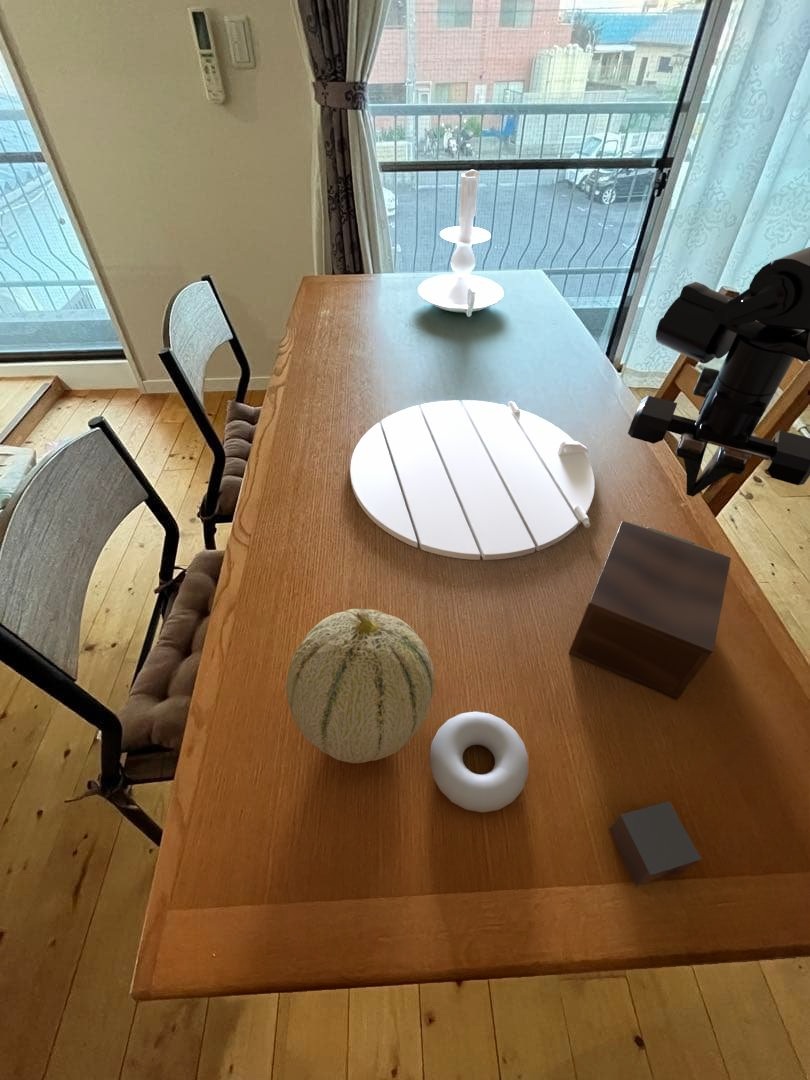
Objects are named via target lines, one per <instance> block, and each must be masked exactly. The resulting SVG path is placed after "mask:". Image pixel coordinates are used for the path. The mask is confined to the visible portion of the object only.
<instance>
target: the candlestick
mask: <svg viewBox="0 0 810 1080" xmlns="http://www.w3.org/2000/svg"><path fill="white" fill-rule="evenodd" d="M479 181H480V171H478V170H475V169H470V170H468V171H465V172H464V173H463V172H462V173H461V176H460V189H459V201H458V202H459V203H458V207H459V213H458V221H457V222H458V224H459V225H457V226H451V227H447V228H444V229H442V230H441V231H440V232H439V236H440V237H441V238H442V239H443V240H445V241H448V242H451V243H455V244H456V248H455V251H454V252H453V254H452V256H451V259H450V267H451V269H452V272H453V273H454V274H453V273H452V274H442V275H437V276H434V277H431V278H428V279H426V280H424V281H423V282H421V284H419V285H418V288H417V293H418V295H419V297H420V298H421V299H422V300H424V301H425V302H427V303H429V304H431V305H433V306H435V307H437V308H439V309H440V310H441V309H442V310H444V311H449V312H453V313H454V312H455V313H465V315H466V316H467V317H472V313H473V312H477V311H480V310H484V309H487V308H490V307H491V306H495V305H496V304H498V303H499V302H501V301H502V300H503V298H504V295H505V293H504V289H503V288H502V286H501V285H499V284H498V283H497V282H495V281H493V280H491V279H488V278H486V277H481V276H477V275H472V274H471V273H473V270H474V269H475V267H476V256H475V253H474V252H473V245H474V244H480V243H484V242H486V241H488V240H490V239H491V237H492V235H491V233H490V232H489V231H488V230H486V229H484V228H480V227H477V226H476V227H475V226H474V218H475V217H476V216H477V203H478V192H479V183H480V182H479Z"/></svg>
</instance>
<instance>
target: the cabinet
mask: <svg viewBox="0 0 810 1080" xmlns="http://www.w3.org/2000/svg"><path fill="white" fill-rule="evenodd" d="M628 522H629V521H625V520H621V521H620V524H619V527H618V529H617V532H616V534H615V537H614V539H613V541H612V544H611V547H610V548H609V551H608V554H607V557H606V559H605V561H604V564H603V566H602V569H601V571H600V573H599V576H598V579H597V581H596V584H595V586H594V588H593V590H592V591H593V592H592V594H591V596H590V598H589V601H588V604H587V606H586V608H585V612H584V613H583V616H582V619H581V621H580V623H579V626H578V629H577V630H576V633H575V636H574V638H573V641H572V643H571V646H570V649H569V651H568V655H570V656H572V657H575V658H577V659H579V660H582V661H584V662H586V663H589V664H591V665H593V666H595V667H598V668H599V669H603V670H605V671H607V672H609V673H612V674H614V675H617V676H619V677H621V678H624V679H626V680H628V681H630V682H633V683H636V684H637V685H640V686H642V687H644V688H646V689H649V690H651V691H654V692H656V693H658V694H660V695H663V696H665V697H667V698H670V699H672V700H674V701H678V699H679V698H680V697H681V696H682V695H683V693H684V692H685V691H686V689H687V688H688V686H690V684H691V682H692V681H693V680H694V679H695V677H696V676H697V674H698V673H699V672H700V670H701V669H702V668H703V666H704V665H705V663H706V662H707V661H708V660H709V658H710V657H711V655H712V654H713V653H714V649H715V645H716V639H717V634H718V629H719V624H720V618H721V614H722V608H723V603H724V597H725V592H726V586H727V581H728V575H729V570H730V565H731V559H732V557H731V556H728V555H725V554H724V555H722V554H723V553H722V554H719V553H720V552H719V553H716V552H717V551H716V552H713V551H714V550H713V551H710V550H711V549H710V550H707V549H708V548H707V549H704V548H705V547H704V548H701V547H702V546H701V547H699V546H700V545H698V546H696V545H697V544H695V545H693V544H690V543H687V542H684V541H681V540H678V539H675V538H672V537H669V536H666V535H663V534H660V533H657V532H654V531H651V530H648V529H646V528H647V527H645V528H643V527H644V526H642V527H640V526H641V525H639V526H637V525H638V524H636V525H634V524H635V523H633V524H631V523H632V522H630V523H628Z"/></svg>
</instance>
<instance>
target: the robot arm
mask: <svg viewBox="0 0 810 1080" xmlns="http://www.w3.org/2000/svg"><path fill="white" fill-rule="evenodd" d="M655 341H656V342H657V343H658V344H659V345H662V346H664V347H666V348H668V349H671V350H673V351H675V352H677V353H680V354H681V355H683V356H685V357H687V358H689V359H692V360H694V361H696V362H699V363H701V364H702V365H703V364H708V363H710V362H711V361H712V360H714V359H717V360H719V359H722V358H723V357H725V358H724V360H723V363H722V365H721V367H720V369H719V370H718V369H715V368H710V367H707V366H703V367H702V369H701V372H700V374H699V377H698V378H697V380H696V383H695V386H694V388H693V390H692V395H693V396H696V397H701V398H704V399H703V401H702V403H701V406H700V408H699V411H698V416H697V419H692V418H689V417H685V416H681V415H677V414H674V413H675V411H676V409H677V406H678V402H675V401H671V400H667V399H663V398H660V397H655V396H652V395H647V396H645V397H643V398H642V399H641V400H640V403H639V405H638V407H637V408H636V410H635V413H634V415H633V418H632V421H631V422H630V426H629V428H628V431H627V434H628V435H629V437H631V438H632V439H636V440H640V441H642V442H647V443H650V444H657V443H659V442H662V441H664V439H665V436H666V434H667V432H669V433H672V434H676V435H680V438H679V442H678V444H677V448H676V450H675V456H677V457H678V458H680V459H683V462H684V463H683V465H684V469H685V474H686V492H685V493H686V496H690V497H692V498H693V497H696V496H697V495H699V493H701V492H703V491H704V490H705V489H707V488H708V487H710V486H711V485H713V484H714V483H717V482H718V481H720V480H722V479H724V478H725V477H727V476H730V475H731V474H736V475H743V473H744V472H745V470H746V467H747V461H748V459H749V460H750V459H751V457H756V458H760V459H763V460H767V461H770V463H769V464H768V466H767V472H768V474H769V476H770V478H771V479H775V480H777V481H780V482H785V483H788V484H792V485H795V486H801V485H805V484H806V482H807V481H808V479H809V478H810V437H808V436H805V435H801V434H798V433H793V432H789V431H785V430H781V429H778V431H776V432H775V434H774V435H773V438H772V439H771V440H769V439H767V438H763V437H758V436H757V433H755V430H756V428H757V427H758V425H759V424H760V421H761V420H762V418H763V415H764V414H765V412H766V410H767V408H768V407H769V405H770V403H771V402H772V400H773V398H774V396H775V394H776V392H777V390H778V388H779V386H780V385H781V383H782V381H783V380H784V378H785V376H786V374H787V372H788V371H789V369H790V367H791V365H792V363H793V361H794V360H795V359H796V360H799V361H801V362H803V363H806V362H809V361H810V246H807V247H805V248H802V249H800V250H797V251H795V252H791V253H789V254H787V255H784V256H782V257H779V258H776V259H774V260H772V261H770V262H769V263H766V264H765V265H763V266H761V268H760V269H759V270H758V271H757V272H756V273H755V274H754V276H753V278H752V280H751V282H750V284H749V287H748V289H746V290H744V291H743V292H742V293H740V294H738V295H737V296H735V297H732V296H729V295H726V294H724V293H721V292H718V291H716V290H714V289H711V288H709V287H708V286H707V285H705V284H703V283H701V282H698V281H694V282H691V283H688V284H686V285H683V287H682V288H681V292H680V294H679V296H678V297H676V299H675V300H674V301H672V303H671V305H669V307H668V308H667V310H666V312H665V313H664V315H663V317H661V318H660V320H659V322H658V324H657V327H656V330H655ZM708 444H709V445H713V446H717V448H716V450H715V452H714V454H713V455H712V457H711V458H710V459H709V461H708V462H707V464H706V466H705V467H704V468H703V470H702V472H701V473H700V469H701V467H702V463H703V460H704V456H705V453H706V450H707V446H708ZM699 473H700V474H699Z"/></svg>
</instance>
